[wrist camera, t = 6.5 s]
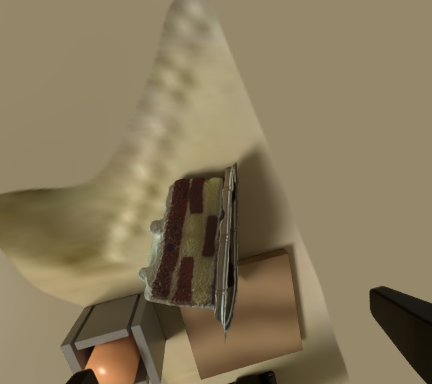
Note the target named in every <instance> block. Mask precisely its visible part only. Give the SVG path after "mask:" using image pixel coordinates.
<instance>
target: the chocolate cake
mask: <svg viewBox="0 0 432 384" xmlns="http://www.w3.org/2000/svg"><path fill="white" fill-rule="evenodd" d="M237 171H238V170H237V164H236V162H235V164H234V165H233V166H232V167H229V168H226V172H225V178H217V177H213V178H211V179H209V180H206V179H204V178H196V179H195V178H192V179H188V180H187V179H179V180H177V181H175V183H174V184H173V185H171V186H170V187H169V191H168V194H167V198H166V201H165V205H164V209H165V214H164V218H163V219H161V220H159V221H157V220H156V221H153V222H152V223H151V225H150V228H149V230H150V233H151V234H153V235H154V236H155V237H154V240H153V242H152V247H151V252H150V256H149V260H148V266H147V268H142V269H141V270H140V271H139V272H138V276H139V278H140V279H141V280H142V281H144V282H146V288H145V299H146V300H148V301H151V302H157V303H161V304H166V305H169V306H172V305H175V306H180V307H188V308H194V309H198V308H201V309H210V310H213V311H214V315H215V318H216V320H218V321H219V322H220V323H221V324H223V326H224V336H225V340H226V337H227V334H226V332H227V331H228V330H229V329H230V327H231V321H232V320H233V318H234V317H235V316H234V310H235V305H236V298H237V293H238V269H239V267H238V266H237V261H238V216H237V212H238V211H237V209H238V208H237V207H238V183H239V181H238V177H237V175H238V173H237Z"/></svg>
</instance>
